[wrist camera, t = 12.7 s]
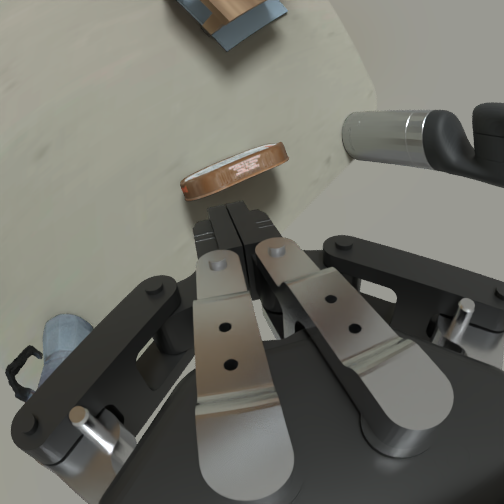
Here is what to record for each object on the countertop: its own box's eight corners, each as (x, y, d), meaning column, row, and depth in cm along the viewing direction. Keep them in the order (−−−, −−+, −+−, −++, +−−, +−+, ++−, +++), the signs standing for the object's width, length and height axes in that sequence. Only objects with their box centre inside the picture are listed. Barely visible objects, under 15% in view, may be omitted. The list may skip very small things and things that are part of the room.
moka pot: (91, 379, 43) (100, 476, 26) (15, 328, 35) (-15, 422, 18) (122, 342, 44) (141, 440, 26) (42, 285, 36) (10, 372, 19)
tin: (180, 198, 41) (195, 208, 34) (171, 178, 40) (185, 183, 33) (270, 158, 46) (302, 161, 38) (264, 139, 44) (295, 138, 37)
